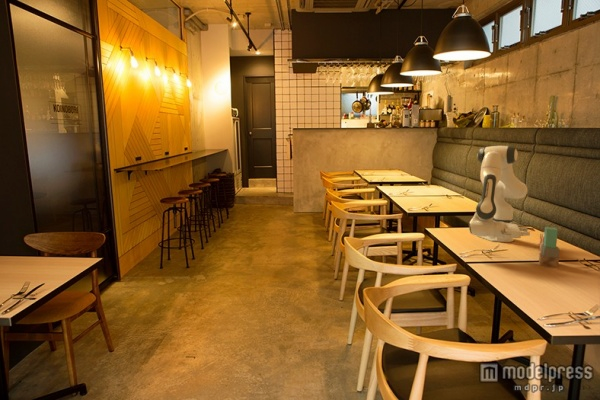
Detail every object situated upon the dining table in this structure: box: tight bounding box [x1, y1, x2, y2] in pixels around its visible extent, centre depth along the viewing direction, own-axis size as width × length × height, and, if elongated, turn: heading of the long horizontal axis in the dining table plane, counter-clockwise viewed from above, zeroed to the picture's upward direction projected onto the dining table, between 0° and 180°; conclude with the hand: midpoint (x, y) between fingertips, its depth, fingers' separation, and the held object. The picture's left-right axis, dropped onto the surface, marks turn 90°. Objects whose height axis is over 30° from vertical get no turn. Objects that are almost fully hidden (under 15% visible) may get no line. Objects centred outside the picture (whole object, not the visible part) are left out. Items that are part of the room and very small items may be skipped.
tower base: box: [538, 252, 560, 268], centre depth 225 cm, size 8×8×5 cm
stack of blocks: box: [539, 231, 545, 253], centre depth 245 cm, size 21×6×12 cm, turn 154°
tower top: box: [540, 245, 560, 259], centre depth 225 cm, size 7×7×5 cm
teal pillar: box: [544, 226, 559, 248], centre depth 223 cm, size 5×5×10 cm
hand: (528, 231), depth 227 cm, fingers open, 8 cm apart
